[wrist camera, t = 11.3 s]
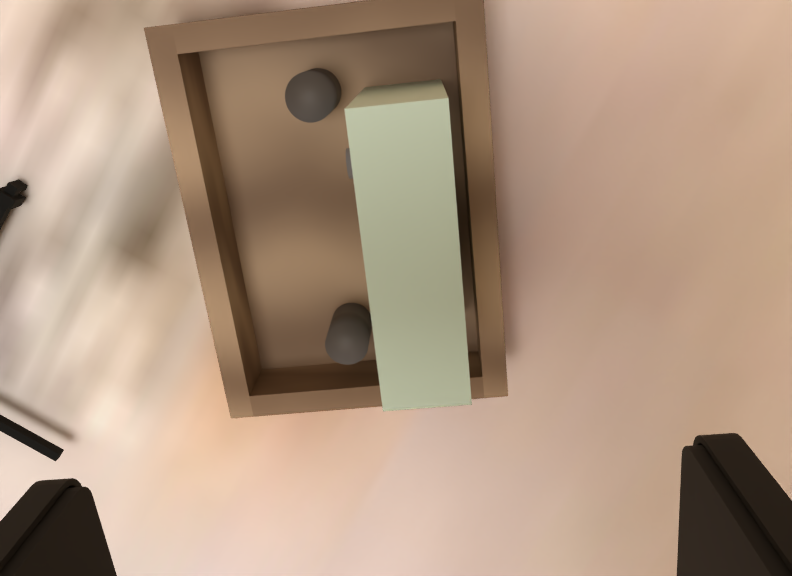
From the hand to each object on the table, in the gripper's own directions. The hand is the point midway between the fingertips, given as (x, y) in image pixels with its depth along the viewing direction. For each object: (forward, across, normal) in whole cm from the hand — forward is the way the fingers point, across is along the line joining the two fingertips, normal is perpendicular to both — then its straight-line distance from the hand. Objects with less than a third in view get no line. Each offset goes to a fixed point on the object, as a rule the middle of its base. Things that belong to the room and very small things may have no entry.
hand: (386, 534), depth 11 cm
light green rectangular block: (+20, 0, -1) cm, 20 cm away
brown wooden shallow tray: (+20, +3, -1) cm, 21 cm away
